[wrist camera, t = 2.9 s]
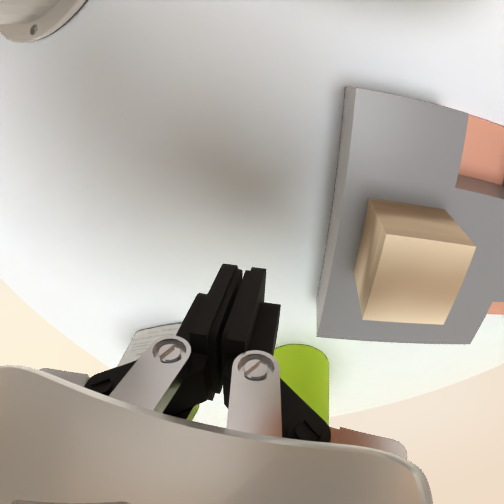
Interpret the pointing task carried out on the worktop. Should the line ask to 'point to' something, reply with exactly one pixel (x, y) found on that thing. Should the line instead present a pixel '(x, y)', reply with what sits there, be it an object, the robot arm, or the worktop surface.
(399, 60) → the worktop surface
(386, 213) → the maple block
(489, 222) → the board
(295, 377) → the soap dispenser
